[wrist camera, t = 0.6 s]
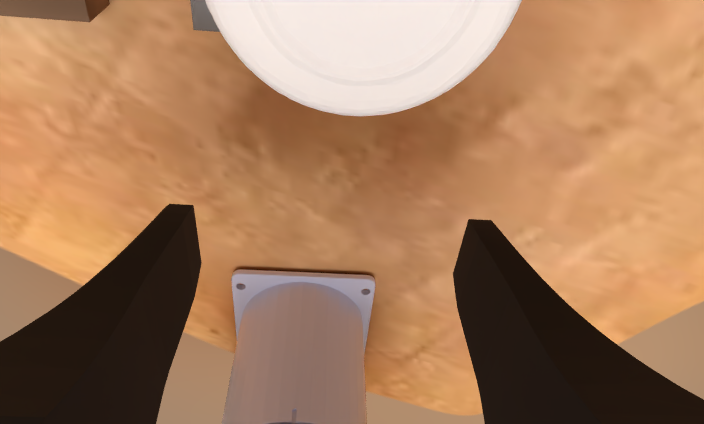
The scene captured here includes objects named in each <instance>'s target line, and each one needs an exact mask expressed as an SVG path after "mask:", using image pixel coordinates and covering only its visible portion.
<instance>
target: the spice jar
mask: <svg viewBox="0 0 704 424" xmlns="http://www.w3.org/2000/svg"><path fill="white" fill-rule="evenodd" d="M205 1H206V4H207V7H208V9H209V11H210V13H211V15H212V16H213V19H214V21H215V23H216V25H217V27H218V28H219V30H220V32H221V34H222V36H223V37H224V39H225V40H226V41H227V43H228V44H229V46H230V47H231V49H232V50H233V51H234V52H235V54H236V55H237V56H238V58H239V59H240V60H241V61H242V62H243V63H244V64H245V65H246V66H247V67H248V68H249V69H250V70H251V71H252V72H253V73H254V74H255V75H256V76H257V77H258V78H260V79H261V80H262V81H263V82H265V83H266V84H267V85H268V86H270V87H271V88H273V89H274V90H275V91H277V92H278V93H280V94H282V95H284V96H286V97H288V98H289V99H291V100H293V101H295V102H298V103H300V104H302V105H305V106H308V107H311V108H314V109H317V110H320V111H323V112H328V113H334V114H339V115H346V116H375V115H384V114H390V113H395V112H400V111H403V110H407V109H410V108H413V107H416V106H418V105H421V104H423V103H425V102H428V101H430V100H432V99H434V98H436V97H438V96H440V95H442V94H443V93H445V92H447V91H448V90H450V89H451V88H453V87H454V86H456V85H457V84H458V83H460V82H461V81H463V80H464V79H465V78H466V77H467V76H468V75H469V74H471V73H472V72H473V71H474V70H475V69H476V68H477V67H478V66H479V65H480V64H481V63H482V62H483V61H484V60H485V59H486V58H487V57H488V56H489V55H490V53H491V52H492V51H493V50H494V49H495V47H496V45H497V44H498V42H499V41H500V39H501V38H502V37H503V35H504V33H505V32H506V30H507V29H508V27H509V26H510V24H511V22H512V20H513V18H514V16H515V14H516V12H517V10H518V8H519V5H520V3H521V1H522V0H205Z"/></svg>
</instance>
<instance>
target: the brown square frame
mask: <svg viewBox="0 0 704 424" xmlns="http://www.w3.org/2000/svg"><path fill="white" fill-rule="evenodd" d="M108 5H109V0H0V15H1V16H14V17H27V18H41V19H54V20H68V21H81V22H90V21H92V20H93V19H94V18H95V17H96V16H97V15H98V14H99V13H100V12H101V11H103V10H104V9H105V8H106V7H107V6H108Z"/></svg>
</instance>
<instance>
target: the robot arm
mask: <svg viewBox="0 0 704 424" xmlns="http://www.w3.org/2000/svg"><path fill="white" fill-rule="evenodd" d="M200 267H201V256H200V249H199V242H198V235H197V228H196V220H195V213H194V206H193V205H180V204H169V205H168V206H166V207H165V208H164V209H163V210H162V211H161V212H160V213H159V214H158V216H157V217H156V218H155V219H154V220H153V221H152V222H151V223H150V224H149V225H148V226H147V227H146V228H145V229H144V230H143V231H142V232H141V233H140V234H139V235H138V236H137V237H136V238H135V239H134V240H133V241H132V242H131V243H130V244H129V245H128V246H127V247H126V248H125V249H124V250H123V251H122V252H121V253H120V254H119V255H118V256H117V257H116V258H115V259H114V260H113V261H111V262H110V263H109V264H108V265H107V266H106V267H105V268H103V269H102V270H101V271H100V272H99V273H98V274H97V275H95V276H94V277H93V278H92V279H91V280H90V281H89V282H87V283H86V284H85V285H84V286H82V287H81V288H80V289H79V290H77V291H76V292H75V293H74V294H72V295H71V296H70V297H68V298H67V299H66V300H64V301H63V302H62V303H60V304H59V305H57V306H56V307H55V308H53V309H52V310H50V311H49V312H48V313H46V314H44V315H43V316H41V317H39V318H38V319H36V320H35V321H33V322H32V323H30V324H29V325H27V326H25V327H24V328H22V329H21V330H19V331H18V332H16V333H14V334H13V335H11V336H9V337H8V338H6V339H4V340H2V341H1V342H0V424H156V421H157V417H158V412H159V408H160V403H161V399H162V395H163V391H164V387H165V383H166V380H167V377H168V373H169V370H170V367H171V364H172V361H173V358H174V356H175V353H176V350H177V347H178V344H179V341H180V338H181V335H182V332H183V330H184V327H185V324H186V321H187V318H188V315H189V312H190V309H191V306H192V303H193V300H194V297H195V292H196V288H197V283H198V278H199V273H200ZM453 278H454V286H455V294H456V301H457V308H458V312H459V316H460V320H461V323H462V327H463V331H464V335H465V338H466V342H467V346H468V349H469V353H470V357H471V361H472V364H473V368H474V372H475V375H476V379H477V383H478V388H479V392H480V397H481V403H482V409H483V415H484V421H485V424H704V400H703V399H701V398H700V397H698V396H696V395H694V394H692V393H690V392H688V391H687V390H685V389H683V388H681V387H680V386H678V385H676V384H675V383H673V382H672V381H670V380H668V379H667V378H665V377H664V376H662V375H661V374H659V373H657V372H656V371H654V370H653V369H651V368H649V367H648V366H646V365H645V364H644V363H642V362H641V361H639V360H638V359H636V358H635V357H633V356H632V355H630V354H629V353H628V352H626V351H625V350H624V349H622V348H621V347H619V346H618V345H617V344H615V343H614V342H613V341H611V340H610V339H609V338H607V337H606V336H605V335H604V334H602V333H601V332H600V331H598V330H597V329H596V328H595V327H594V326H592V325H591V324H590V323H589V322H588V321H587V320H585V319H584V318H583V317H582V316H581V315H579V314H578V313H577V312H576V311H575V310H574V309H573V308H572V307H570V306H569V305H568V304H567V303H566V302H565V301H564V300H563V299H562V298H561V297H560V296H559V295H558V294H557V293H556V292H555V291H554V290H553V289H552V288H551V287H550V286H549V285H548V284H547V283H546V282H545V281H544V280H543V279H542V278H541V277H540V276H539V275H538V274H537V273H536V271H535V270H534V269H533V268H532V267H531V266H530V265H529V264H528V263H527V261H526V260H525V259H524V258H523V257H522V256H521V255H520V254H519V252H518V251H517V250H516V249H515V248H514V247H513V245H512V244H511V243H510V242H509V241H508V239H507V238H506V237H505V236H504V235H503V234H502V232H501V231H500V230H499V229H498V228H497V226H496V225H495V224H494V223H493V222H492V221H491V220H474V219H469V220H468V223H467V227H466V230H465V234H464V237H463V241H462V244H461V248H460V251H459V255H458V258H457V262H456V265H455V269H454V272H453ZM231 281H232V292H233V303H234V314H235V325H236V336H237V345H236V350H235V356H234V361H233V367H232V372H231V377H230V383H229V388H228V394H227V398H226V404H225V409H224V414H223V420H222V424H367V414H366V394H365V393H366V391H365V368H364V354H365V347H366V341H367V335H368V329H369V323H370V316H371V310H372V304H373V298H374V292H375V279H374V278H373V277H372V276H369V275H354V274H332V273H309V272H287V271H264V270H242V269H240V270H236V271H234V272H233V274H232V278H231ZM239 283H241V284H243V285H241V284H239ZM363 289H368V290H363Z"/></svg>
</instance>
